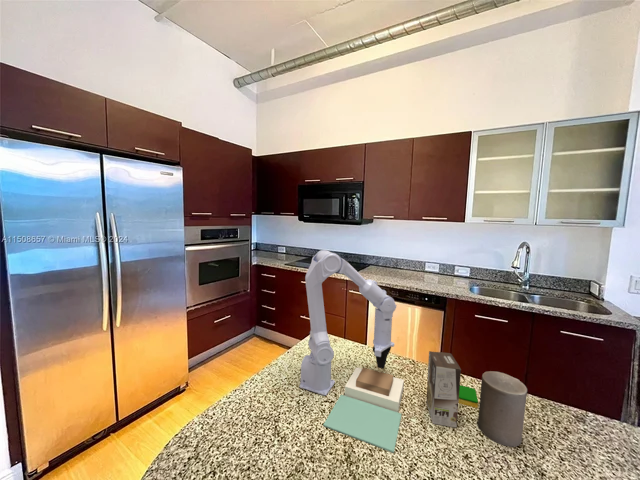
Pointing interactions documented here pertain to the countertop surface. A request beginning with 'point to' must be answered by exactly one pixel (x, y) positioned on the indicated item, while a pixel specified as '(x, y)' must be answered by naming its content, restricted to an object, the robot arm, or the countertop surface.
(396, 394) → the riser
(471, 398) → the dish sponge
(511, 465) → the countertop surface
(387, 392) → the walnut coaster
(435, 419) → the coffee box
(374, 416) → the sage mat
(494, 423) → the pillar candle
